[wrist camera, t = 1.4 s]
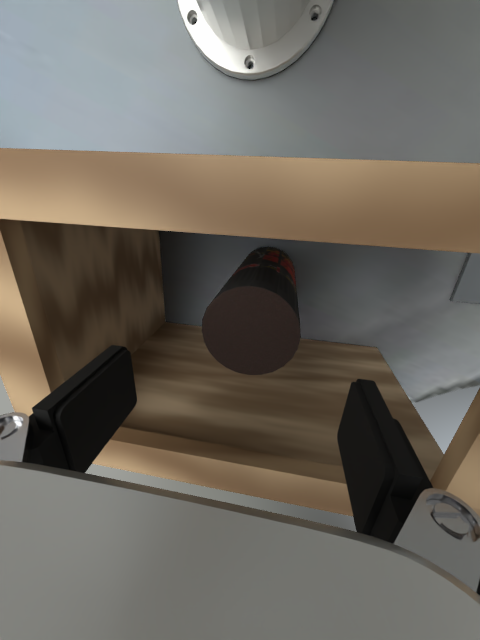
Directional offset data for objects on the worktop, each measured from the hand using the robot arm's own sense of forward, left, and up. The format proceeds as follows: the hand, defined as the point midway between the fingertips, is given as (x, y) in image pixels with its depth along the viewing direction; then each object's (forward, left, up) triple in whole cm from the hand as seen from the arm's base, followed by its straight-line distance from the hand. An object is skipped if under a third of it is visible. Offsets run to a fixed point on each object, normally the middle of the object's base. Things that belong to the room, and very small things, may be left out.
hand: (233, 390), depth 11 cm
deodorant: (0, 0, -20) cm, 20 cm away
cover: (0, 0, -20) cm, 20 cm away
